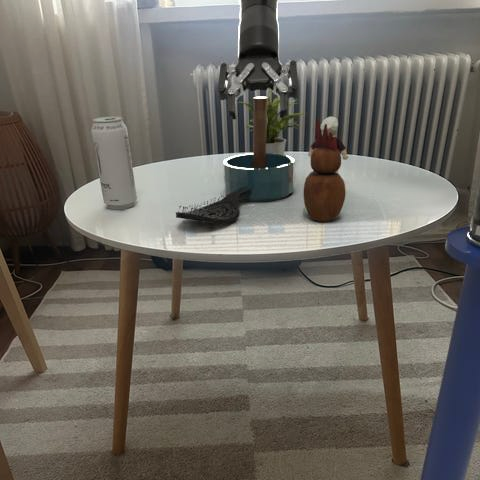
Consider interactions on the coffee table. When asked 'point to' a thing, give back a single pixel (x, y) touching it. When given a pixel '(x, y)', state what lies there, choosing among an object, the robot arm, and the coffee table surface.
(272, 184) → the bowl
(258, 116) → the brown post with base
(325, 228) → the coffee table surface
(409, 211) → the coffee table surface
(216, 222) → the hairbrush
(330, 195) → the wooden figurine
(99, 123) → the energy drink can
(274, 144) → the house plant
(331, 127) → the grandmother figurine
